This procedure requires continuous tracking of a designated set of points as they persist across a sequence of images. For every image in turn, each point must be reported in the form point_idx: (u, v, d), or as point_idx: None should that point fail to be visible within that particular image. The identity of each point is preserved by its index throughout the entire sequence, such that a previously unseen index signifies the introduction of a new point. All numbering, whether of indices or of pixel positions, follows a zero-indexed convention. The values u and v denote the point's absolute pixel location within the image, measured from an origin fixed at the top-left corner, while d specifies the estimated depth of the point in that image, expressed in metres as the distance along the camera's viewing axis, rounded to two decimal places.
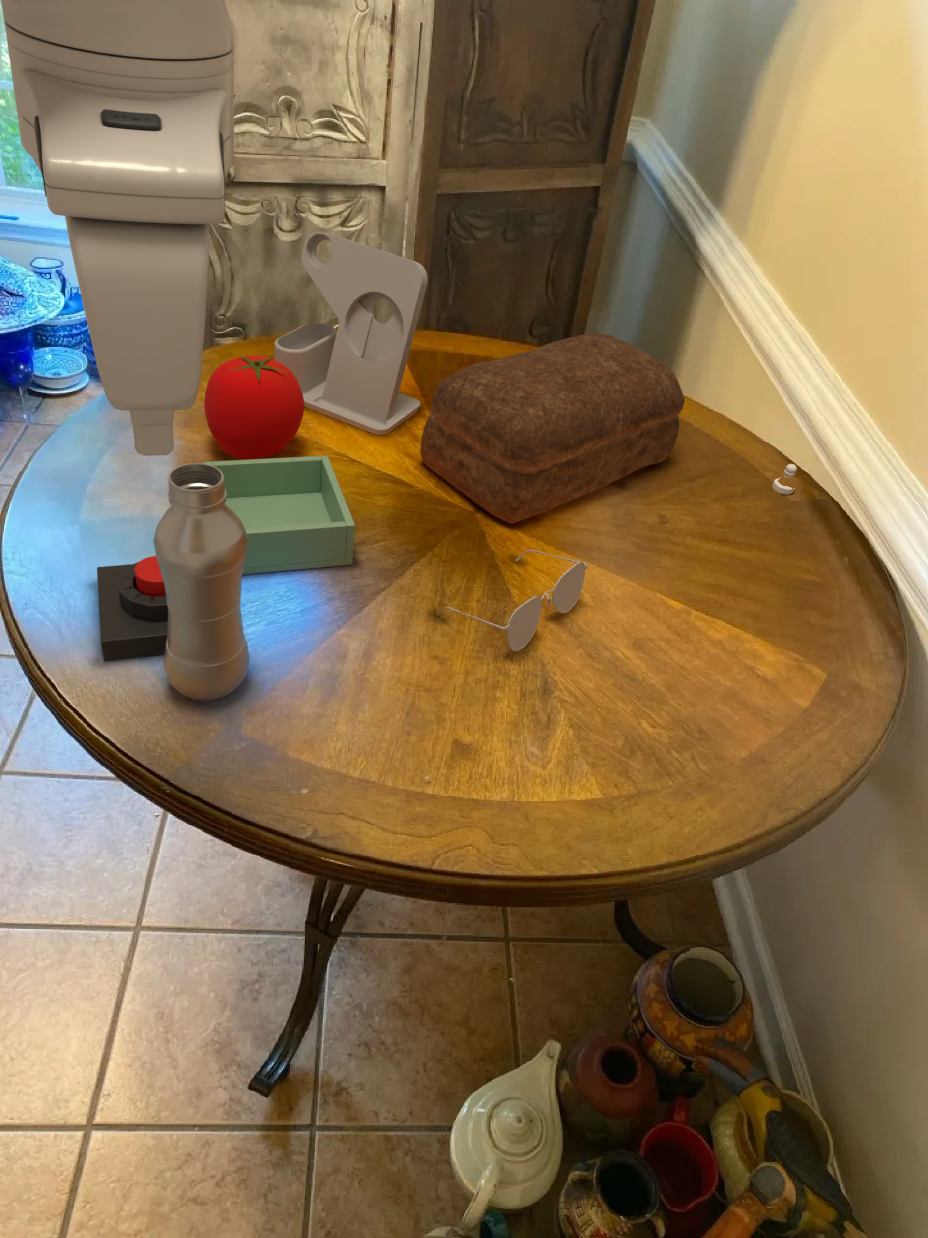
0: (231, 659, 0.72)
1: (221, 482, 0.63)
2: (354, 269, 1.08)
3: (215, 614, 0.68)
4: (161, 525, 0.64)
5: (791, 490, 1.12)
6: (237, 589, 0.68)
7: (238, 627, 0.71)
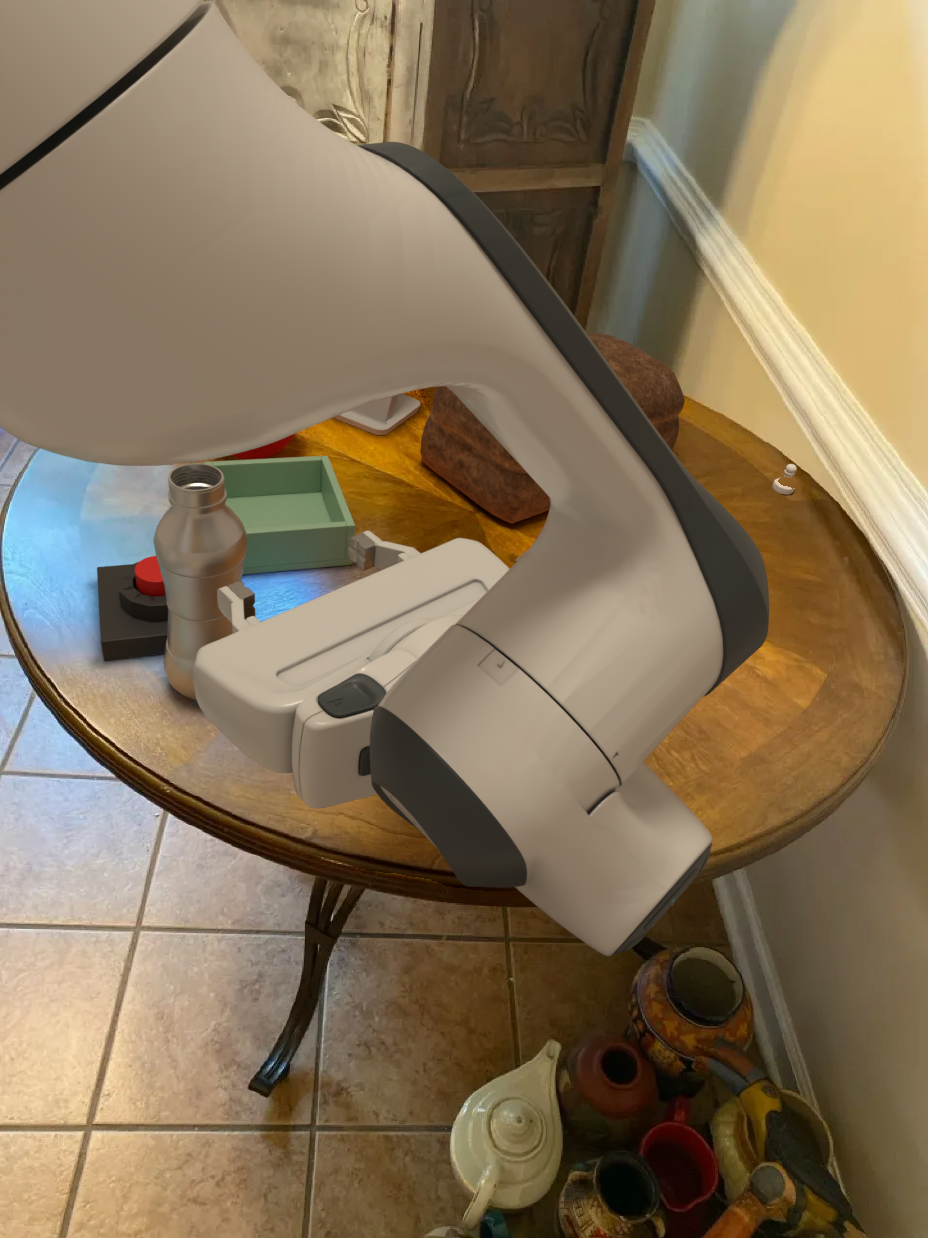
0: None
1: (221, 482, 0.63)
2: None
3: (215, 614, 0.68)
4: (161, 525, 0.64)
5: (791, 490, 1.12)
6: None
7: None
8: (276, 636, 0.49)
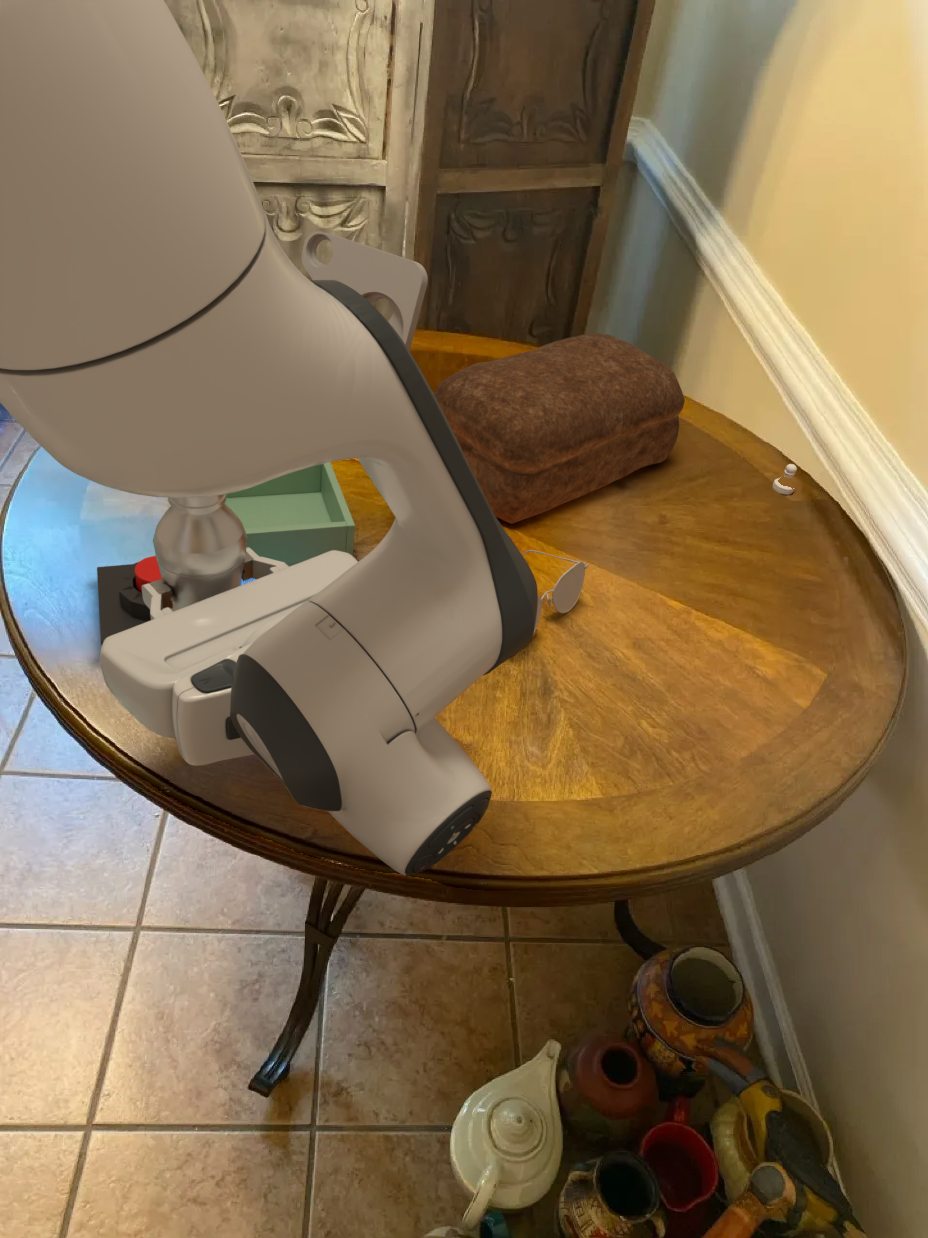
0: None
1: None
2: (354, 269, 1.08)
3: None
4: (161, 525, 0.64)
5: (791, 490, 1.12)
6: None
7: None
8: (168, 629, 0.61)
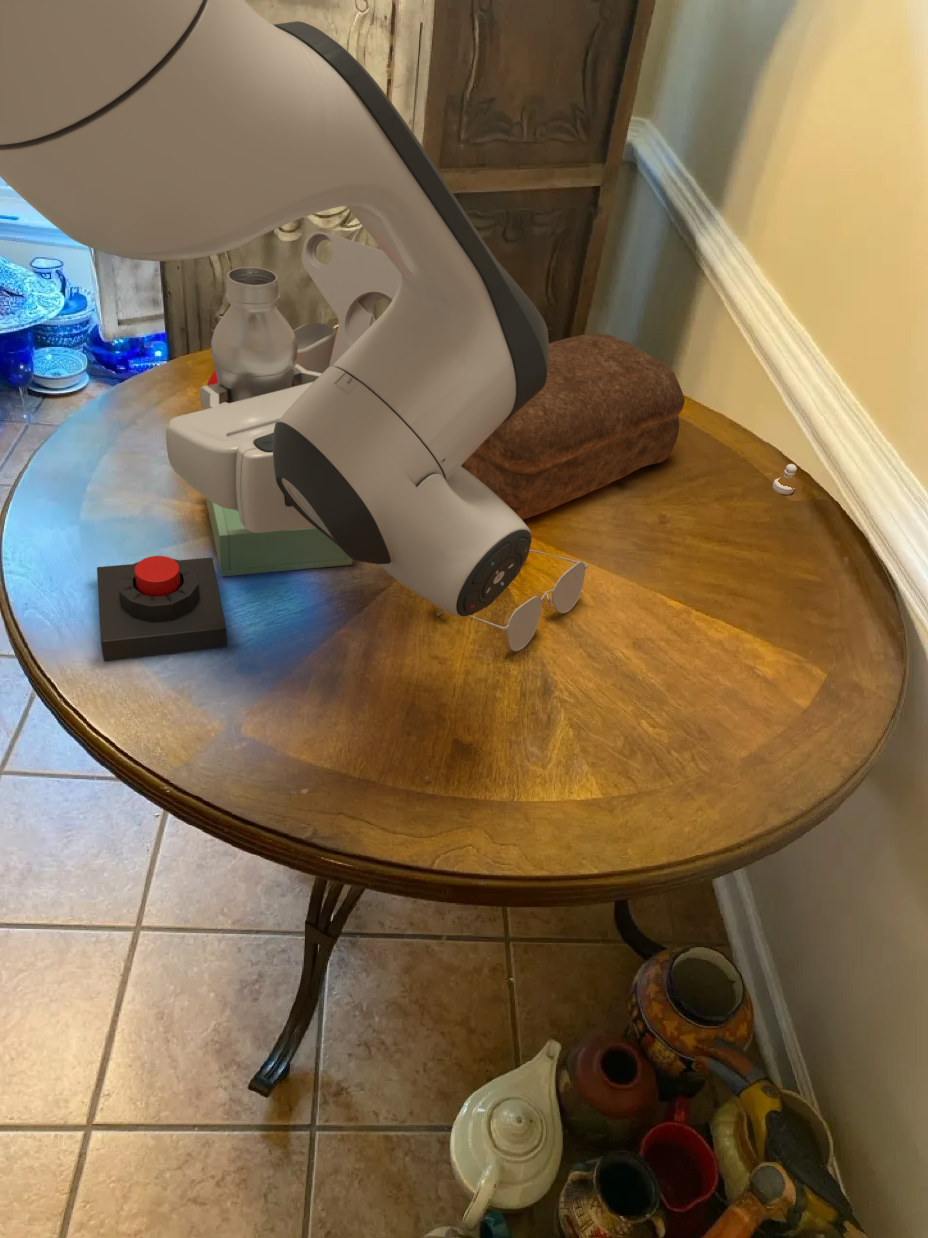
0: None
1: (275, 281, 0.67)
2: (354, 269, 1.08)
3: None
4: (219, 326, 0.69)
5: (791, 490, 1.12)
6: None
7: None
8: (228, 414, 0.66)
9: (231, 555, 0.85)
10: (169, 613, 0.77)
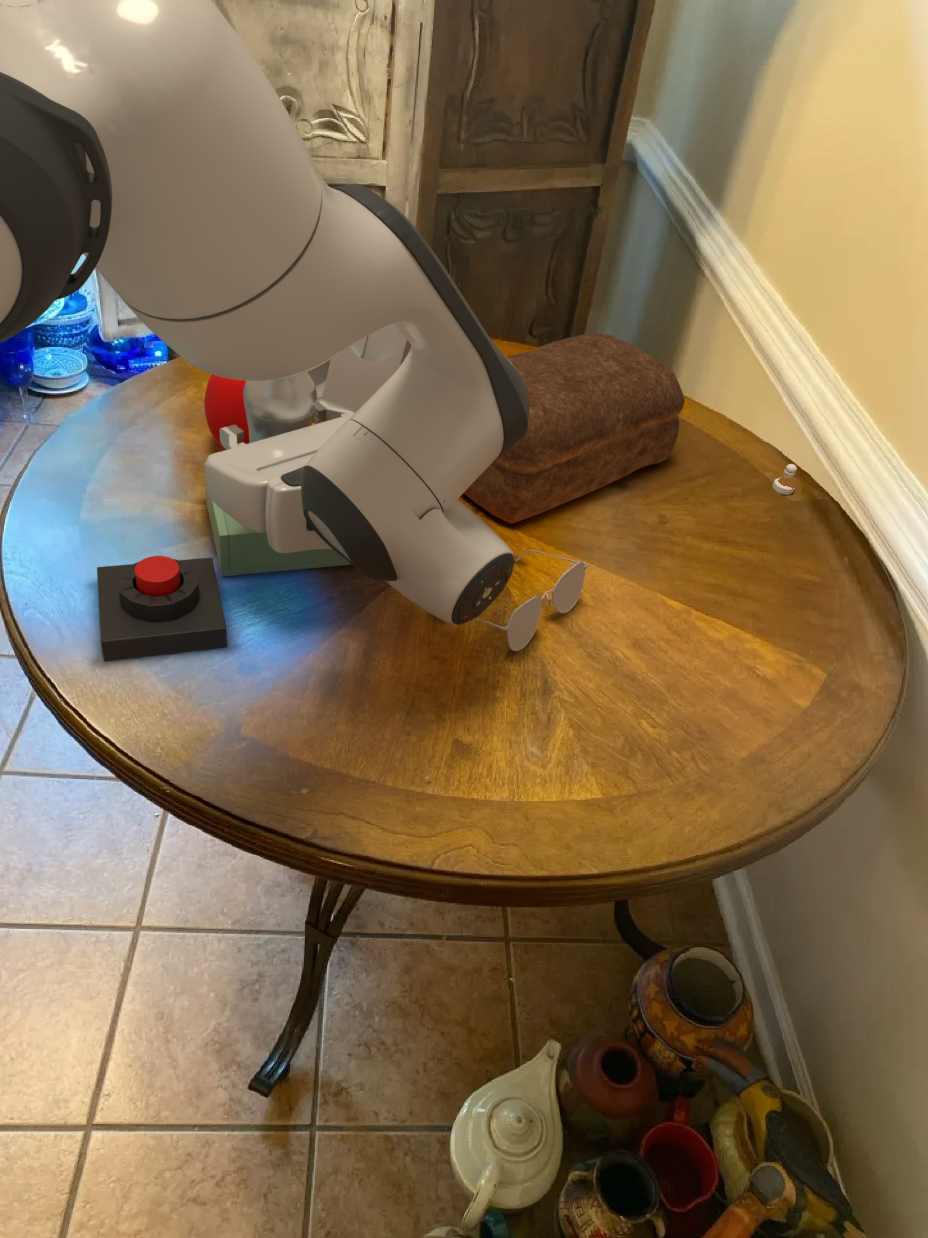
0: None
1: None
2: None
3: None
4: None
5: (791, 490, 1.12)
6: None
7: None
8: (257, 451, 0.77)
9: (231, 555, 0.85)
10: (169, 613, 0.77)
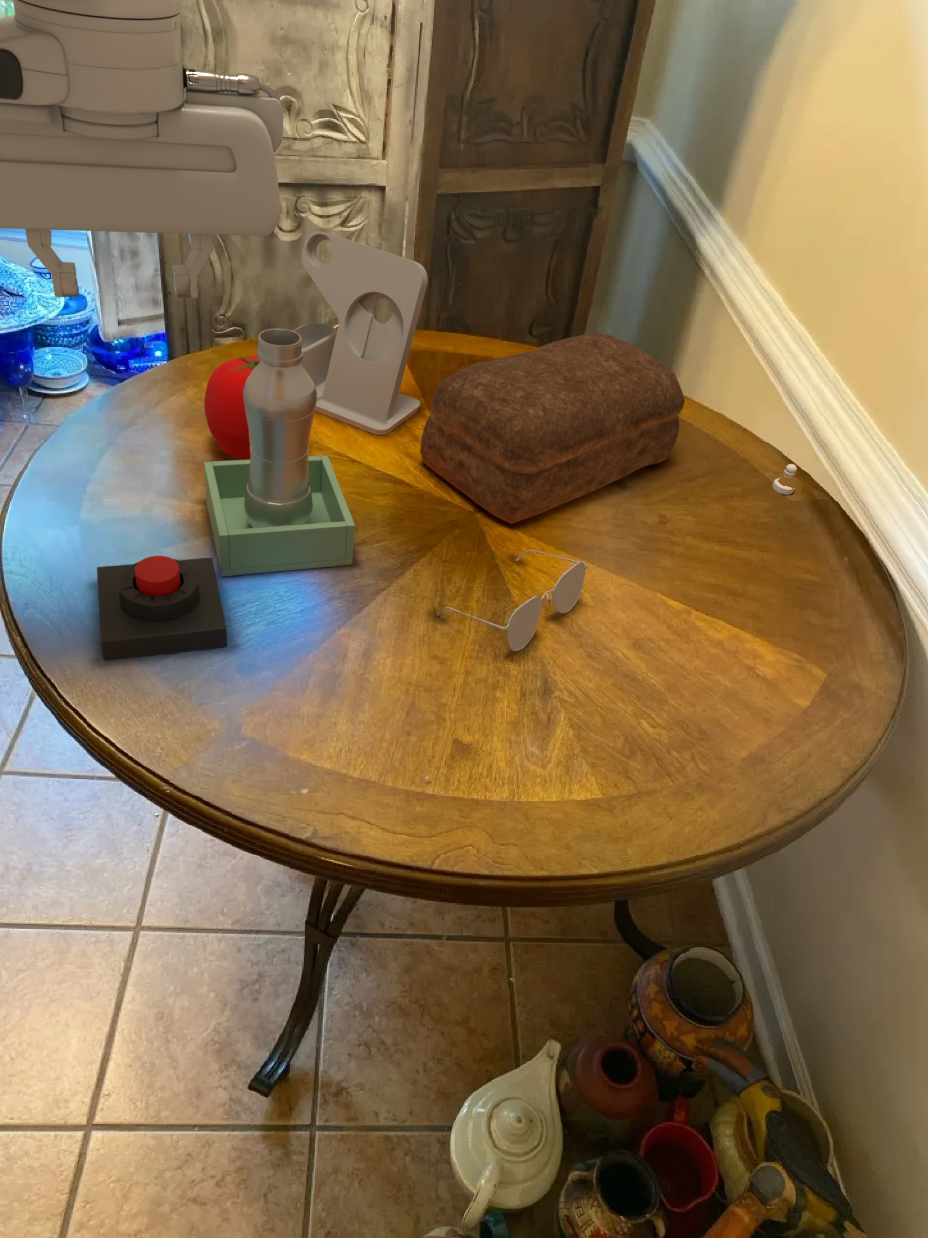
0: (300, 500, 0.88)
1: (300, 342, 0.79)
2: (354, 269, 1.08)
3: (290, 457, 0.84)
4: (250, 378, 0.80)
5: (791, 490, 1.12)
6: (307, 437, 0.85)
7: (306, 473, 0.87)
8: None
9: (231, 555, 0.85)
10: (169, 613, 0.77)
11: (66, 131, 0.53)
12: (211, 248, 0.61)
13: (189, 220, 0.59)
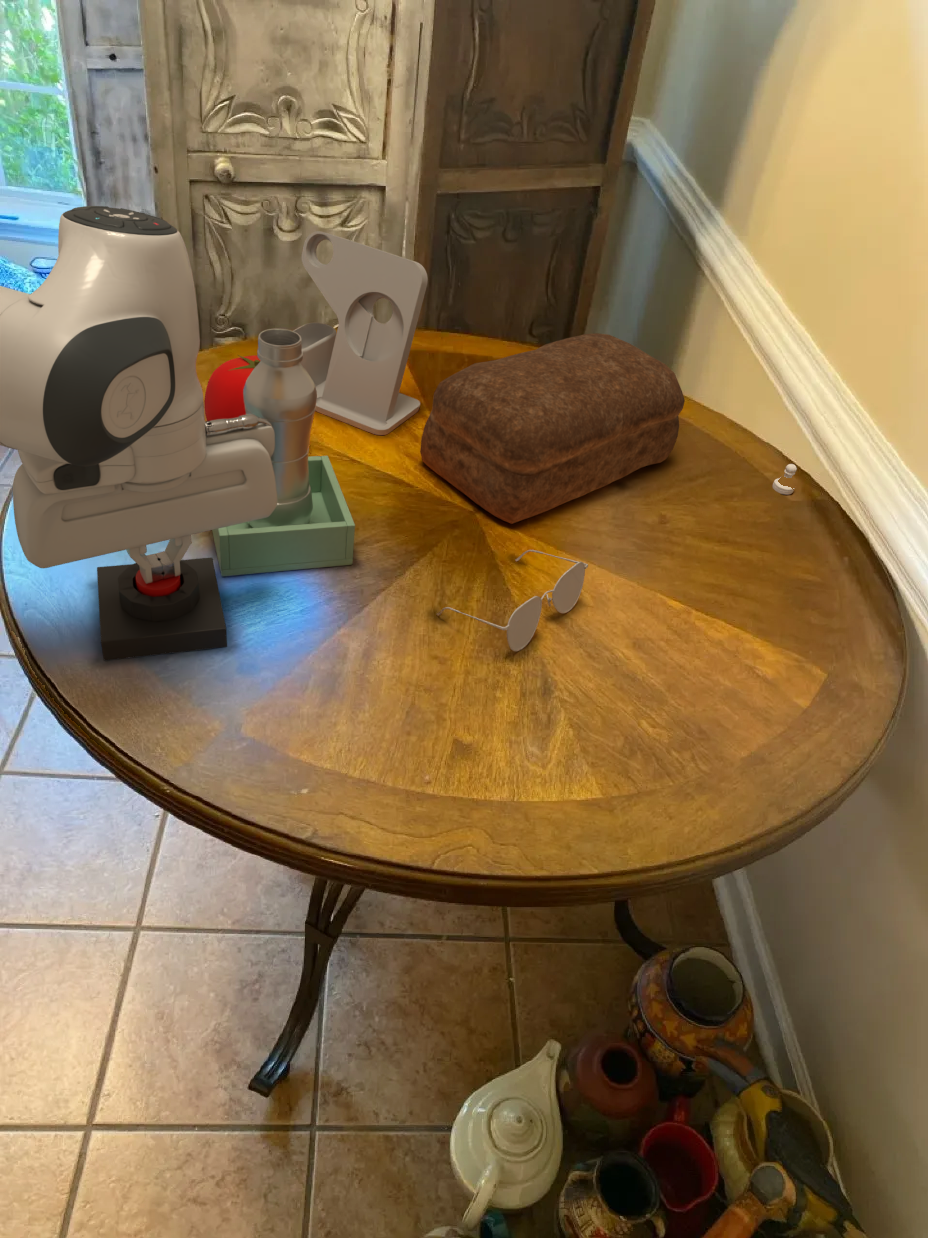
0: (300, 500, 0.88)
1: (300, 342, 0.79)
2: (354, 269, 1.08)
3: (290, 457, 0.84)
4: (250, 378, 0.80)
5: (791, 490, 1.12)
6: (307, 437, 0.85)
7: (306, 473, 0.87)
8: None
9: (231, 555, 0.85)
10: (169, 613, 0.77)
11: (124, 489, 0.69)
12: (190, 541, 0.76)
13: (212, 522, 0.75)
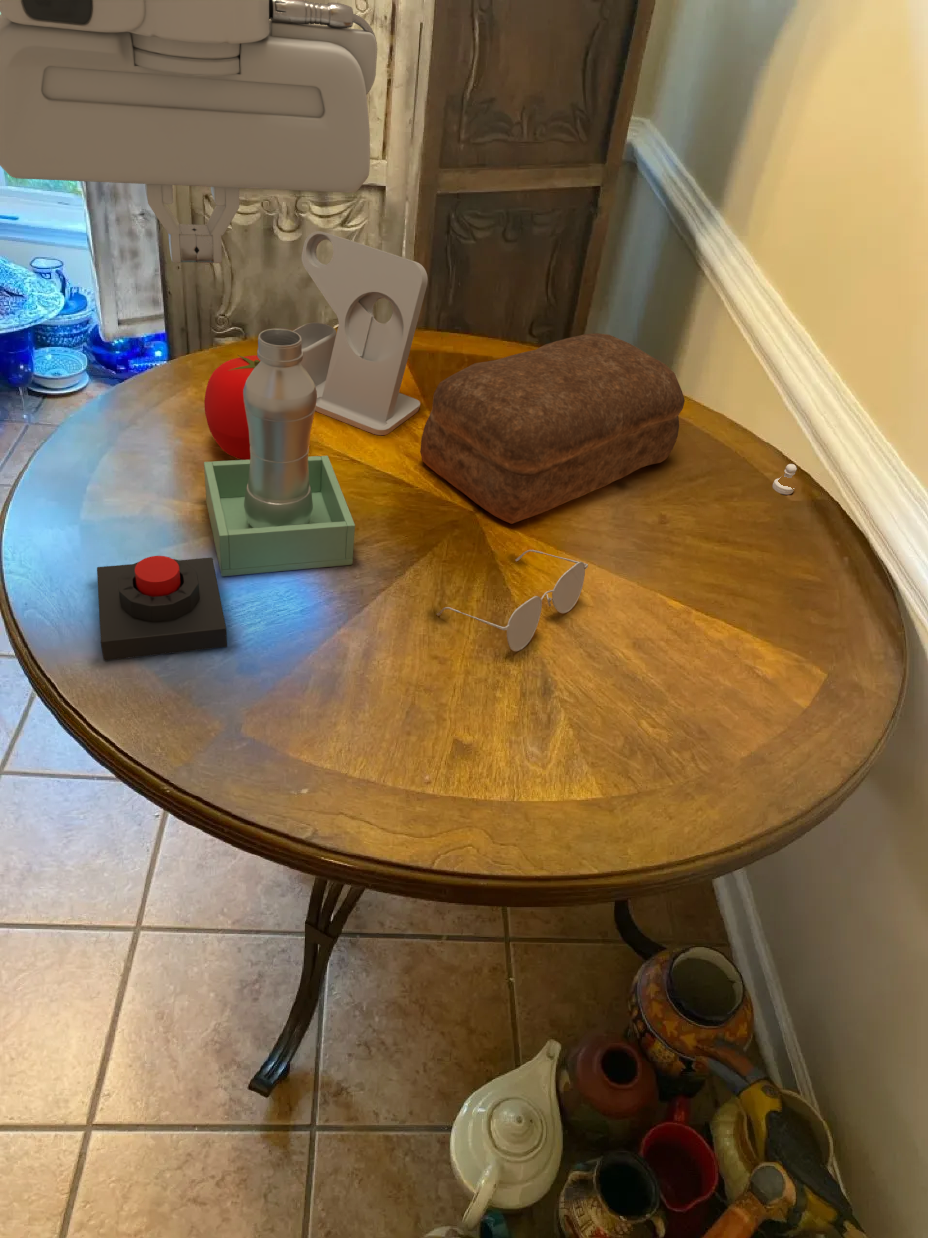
0: (300, 500, 0.88)
1: (300, 342, 0.79)
2: (354, 269, 1.08)
3: (290, 457, 0.84)
4: (250, 378, 0.80)
5: (791, 490, 1.12)
6: (307, 437, 0.85)
7: (306, 473, 0.87)
8: None
9: (231, 555, 0.85)
10: (169, 613, 0.77)
11: (137, 66, 0.47)
12: (237, 204, 0.53)
13: (270, 173, 0.52)
